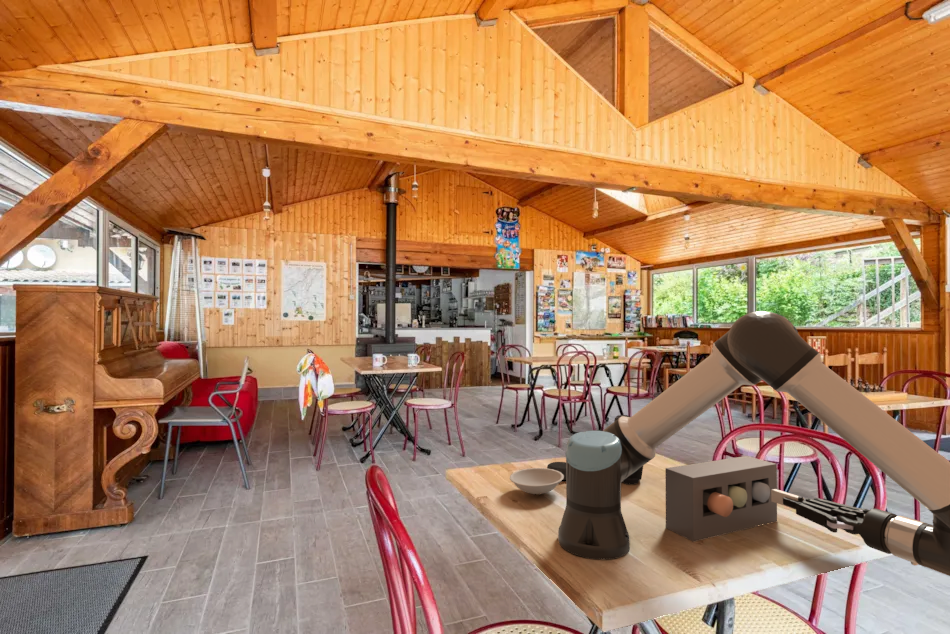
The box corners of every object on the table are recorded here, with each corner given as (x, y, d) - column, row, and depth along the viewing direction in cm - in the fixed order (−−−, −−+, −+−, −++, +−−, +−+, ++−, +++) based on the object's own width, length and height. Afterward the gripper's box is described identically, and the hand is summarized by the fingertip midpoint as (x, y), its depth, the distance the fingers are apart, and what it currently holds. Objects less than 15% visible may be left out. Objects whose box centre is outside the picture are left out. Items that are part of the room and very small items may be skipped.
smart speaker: (578, 475, 154) (578, 463, 154) (571, 484, 146) (571, 470, 146) (551, 472, 158) (551, 459, 158) (543, 479, 150) (543, 466, 150)
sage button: (734, 508, 110) (734, 489, 111) (711, 500, 116) (711, 481, 116) (747, 505, 112) (747, 486, 112) (724, 497, 118) (724, 479, 118)
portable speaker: (613, 475, 154) (613, 413, 155) (644, 478, 151) (644, 415, 151) (611, 483, 146) (611, 418, 147) (643, 486, 143) (643, 420, 143)
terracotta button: (719, 518, 105) (719, 498, 105) (696, 508, 110) (696, 489, 110) (733, 515, 107) (733, 495, 107) (710, 505, 112) (710, 486, 112)
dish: (530, 481, 148) (530, 464, 148) (573, 490, 139) (573, 473, 139) (498, 497, 134) (498, 479, 134) (543, 509, 125) (543, 489, 125)
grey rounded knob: (757, 503, 114) (757, 484, 114) (734, 495, 119) (734, 477, 119) (770, 501, 116) (770, 482, 116) (747, 493, 121) (747, 475, 121)
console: (693, 541, 106) (693, 477, 107) (665, 527, 114) (665, 468, 114) (777, 521, 118) (776, 463, 118) (747, 510, 125) (746, 455, 125)
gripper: (875, 561, 88) (754, 515, 110) (913, 548, 94) (791, 507, 115) (875, 520, 88) (754, 482, 110) (913, 509, 94) (791, 475, 115)
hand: (773, 495), depth 113 cm, fingers closed
